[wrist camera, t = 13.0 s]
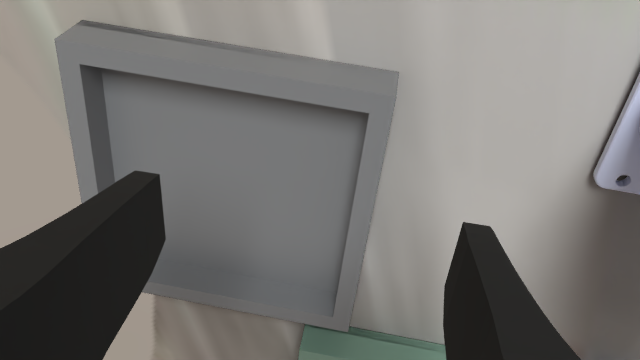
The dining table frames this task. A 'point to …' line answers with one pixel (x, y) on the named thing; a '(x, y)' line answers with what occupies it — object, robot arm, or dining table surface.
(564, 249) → the dining table surface
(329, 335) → the green tray
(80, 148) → the charcoal tray
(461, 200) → the dining table surface
